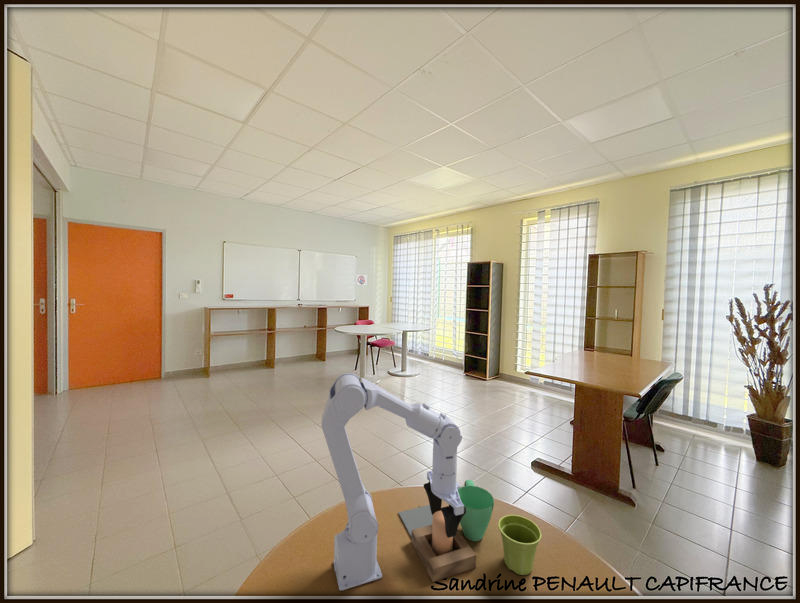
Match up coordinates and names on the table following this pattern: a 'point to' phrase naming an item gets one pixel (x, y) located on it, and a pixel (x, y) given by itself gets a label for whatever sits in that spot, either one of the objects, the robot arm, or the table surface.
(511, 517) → the plant pot
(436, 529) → the peach rounded cylinder
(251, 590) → the table surface
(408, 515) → the mat
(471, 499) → the mug
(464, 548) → the holder
